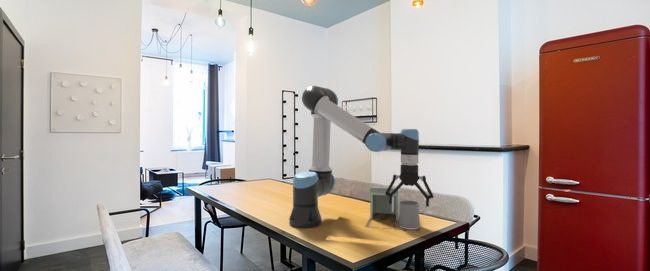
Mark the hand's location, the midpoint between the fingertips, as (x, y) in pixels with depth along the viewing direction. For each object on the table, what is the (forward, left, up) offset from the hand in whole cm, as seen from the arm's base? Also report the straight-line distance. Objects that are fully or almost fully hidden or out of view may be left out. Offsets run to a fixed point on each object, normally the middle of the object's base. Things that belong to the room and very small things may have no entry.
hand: (408, 212), depth 140 cm
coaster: (0, 0, -6) cm, 6 cm away
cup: (0, 0, -6) cm, 6 cm away
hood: (-11, +13, -6) cm, 18 cm away
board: (-7, +7, -7) cm, 12 cm away
